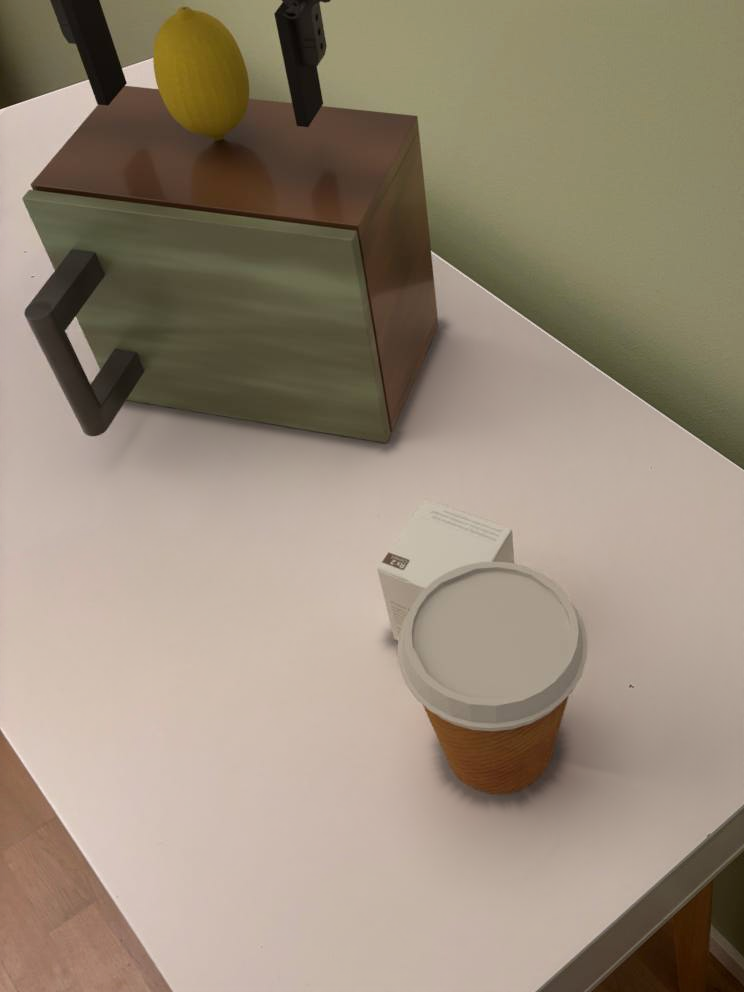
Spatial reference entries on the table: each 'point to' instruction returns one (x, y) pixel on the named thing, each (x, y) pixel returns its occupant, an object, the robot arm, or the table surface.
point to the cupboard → (281, 194)
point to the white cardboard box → (437, 554)
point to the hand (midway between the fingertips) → (209, 104)
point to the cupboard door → (207, 315)
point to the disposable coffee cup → (493, 669)
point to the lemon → (200, 73)
